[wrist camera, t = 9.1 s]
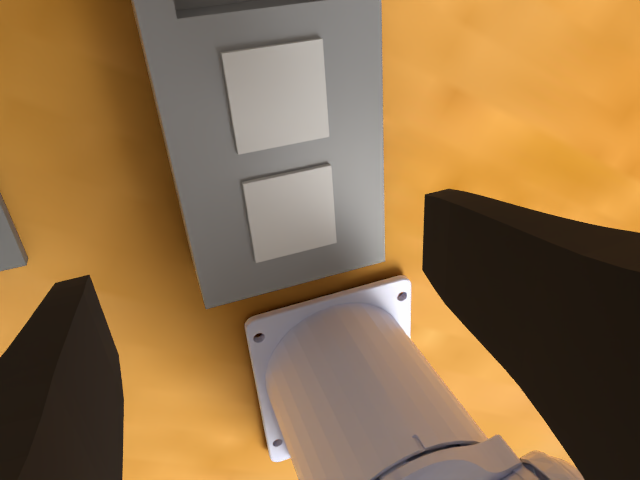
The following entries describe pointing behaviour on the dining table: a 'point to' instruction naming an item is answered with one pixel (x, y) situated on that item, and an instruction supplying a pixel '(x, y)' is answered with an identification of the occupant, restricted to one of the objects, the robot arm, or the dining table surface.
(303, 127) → the power strip
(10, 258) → the rubber mat
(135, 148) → the dining table surface
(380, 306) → the robot arm
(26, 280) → the dining table surface
